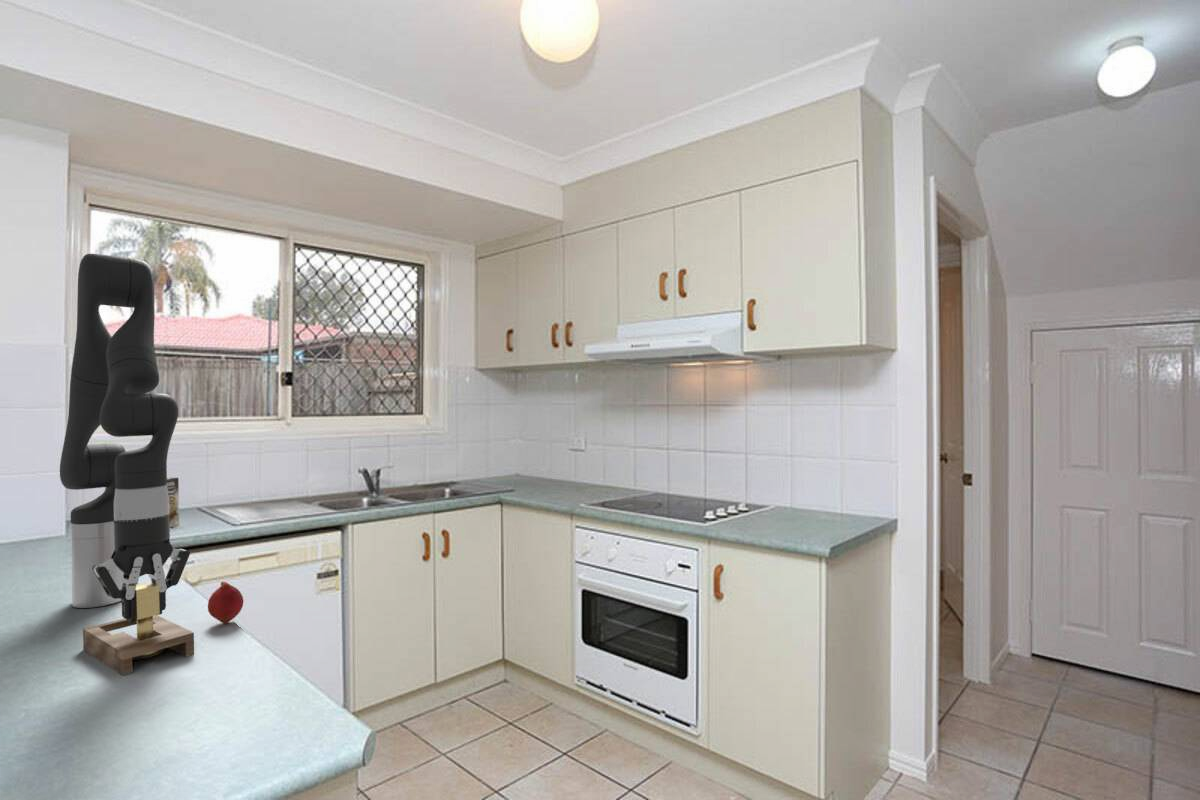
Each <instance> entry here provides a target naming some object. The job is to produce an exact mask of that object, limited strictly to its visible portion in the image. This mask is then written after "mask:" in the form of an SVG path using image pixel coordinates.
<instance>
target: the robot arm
mask: <svg viewBox="0 0 1200 800" xmlns="http://www.w3.org/2000/svg"><path fill="white" fill-rule="evenodd" d="M80 260H81V261H80V263H79V267H78V273H77V274H78V275H77V301H76V302H77V303H76V304H77V305H76V308H77V309H76V310H77V312H76V313H77V315H76V332H75V333H76V334H75V340H74V341H75V342H74V348H73V357H72V364H71V371H70V381H69V382H70V383H69V396H68V397H69V401H68V416H67V417H68V418H67V422H66V423H67V424H66V429H65V435H64V440H63V445H62V449H61V457H60V463H59V478H60V482H61V484H62V486H63V487H64V488H65V489H67V490H71V491H72V490H77V491H78V490H89V489H91V490H92V489H101V488H105V489H104V491H103V492H102V493H101V494H100V495H99V496H97V497H96V498H94V499H93V500H91V501H89V502H86V503H83V504H81V505H78V506H76V507H73V509H72V510H71V512H70V542H71V543H70V545H71V546H70V547H71V550H70V551H71V552H70V553H71V595H72V596H71V599H72V601H71V602H72V604H71V605H72V607H73V608H79V609H86V608H87V609H88V608H97V607H98V608H99V607H104V606H107V605H112V604H116V603H119V602H121V616H122V619H124V618H125V619H127V621H129V622H133V621H136V608H135V599H134V594H135V589H136V586H138V584H139V578H140V577H143V576H144V575H148V577H149V578H150V581H151V582H150V583H153V584H156V585H159V608H160V614H159V615H158V616H160V615H163V611H165V610H166V607H167V603H166V602H167V601H166V600H167V598H166V597H167V596H166V595H167V593H166V592H167V590H169V588H171V587H174V586H177V585H178V584H179V581H180V579H181V577H182V574H183V572H184V569H185V567H186V564H187V562H188V560H189V557H190V555H191V552H190V551H189V550H188V549H187V550H186V549H183V548H174V547H173V545H172V544H171V541H170V540H171V535H170V534H171V532H170V531H171V530H170V529H171V528H170V520H169V510H170V505H169V495H168V490H167V485H166V484H167V478H168V475H167V474H168V473H167V472H168V471H167V469H168V466H167V463H168V461H167V460H168V453H169V449H170V445H171V441H172V438H173V437H172V436H173V434H174V432H175V427H176V425H177V421H178V418H179V407H178V403H177V402H176V400H175V399H174V397H172V396H171V395H169V394H166V393H150V392H152V391H154V390H155V389H156V388H157V387H158V385H159V383H160V373H159V367H158V362H157V356H156V350H155V349H156V347H155V319H156V318H155V316H156V315H155V314H156V313H155V310H156V309H155V279H154V274H153V270H152V268H151V266H150V265H149V264H148V263H147V262H146V261H143V260H141V259H137V258H136V259H135V258H130V257H129V258H128V257H120V256H115V255H107V254H102V253H87V254H84V255H83V256H82V258H81V259H80ZM100 306H107V307H119V308H133V311H132V313H131V315H130V316H129V318H128V319H127V320H126V321H125V322H124V323H123V324H122V325H121V326H120V327H119V328H118V329H117V330H116V331H115V332H114V334H113V335H111V333H110V332H109V330H108V329H107V327H106V325H105V323H104V321H103V319H102V316H101V314H100ZM100 427H101V428H102V430H103V431H105V433H106V434H108V435H109V436H112V437H117V438H121V437H122V438H124V437H142V436H143V437H144V436H145V437H146V436H151V440H150V442H148V443H147V445H145V446H143V447H141V448H140V447H139V448H137V449H132V450H128V451H126V449H125V447H124V446H123V445H122V444H121V443H115V442H114V443H95V444H89V442H90V440H91V438H92V436H93V434H94V433H95V432H96V431H97V429H98V428H100ZM169 558H170V560H171V561H172V562H171V564H170V566H169V569H168V571H167V573H166V574H165V570H164V565H165V563H166V562H167V561H168V560H169Z"/></svg>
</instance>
